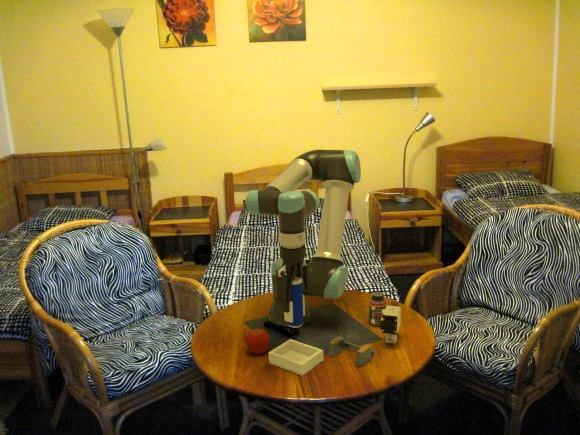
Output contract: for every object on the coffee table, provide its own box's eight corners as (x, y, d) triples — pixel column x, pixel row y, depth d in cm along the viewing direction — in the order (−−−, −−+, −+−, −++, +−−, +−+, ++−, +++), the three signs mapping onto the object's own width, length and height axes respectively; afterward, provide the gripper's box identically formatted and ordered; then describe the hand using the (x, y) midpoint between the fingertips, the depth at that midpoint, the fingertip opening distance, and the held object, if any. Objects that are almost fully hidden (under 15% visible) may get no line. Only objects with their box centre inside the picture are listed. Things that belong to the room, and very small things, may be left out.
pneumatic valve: (401, 334, 186) (401, 301, 183) (395, 350, 176) (396, 315, 173) (384, 332, 188) (385, 299, 185) (378, 347, 177) (379, 313, 174)
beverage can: (306, 322, 168) (305, 276, 164) (299, 329, 164) (297, 282, 160) (291, 319, 170) (289, 274, 167) (283, 326, 166) (282, 280, 162)
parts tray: (268, 363, 170) (268, 352, 169) (290, 349, 178) (290, 338, 178) (302, 376, 162) (301, 365, 161) (323, 360, 171) (323, 350, 170)
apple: (275, 351, 177) (274, 329, 175) (256, 360, 172) (255, 337, 170) (260, 343, 183) (259, 322, 181) (241, 351, 178) (240, 329, 176)
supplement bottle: (374, 328, 191) (375, 298, 188) (365, 321, 196) (365, 292, 193) (389, 324, 193) (389, 295, 190) (379, 318, 198) (380, 289, 196)
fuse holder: (328, 355, 173) (328, 342, 172) (342, 345, 179) (342, 332, 178) (361, 367, 166) (361, 353, 165) (374, 356, 172) (374, 343, 171)
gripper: (282, 255, 152) (285, 332, 157) (320, 239, 165) (322, 310, 171) (262, 250, 156) (265, 325, 162) (301, 235, 170) (302, 304, 176)
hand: (294, 317), depth 166 cm, fingers closed on beverage can, 5 cm apart
